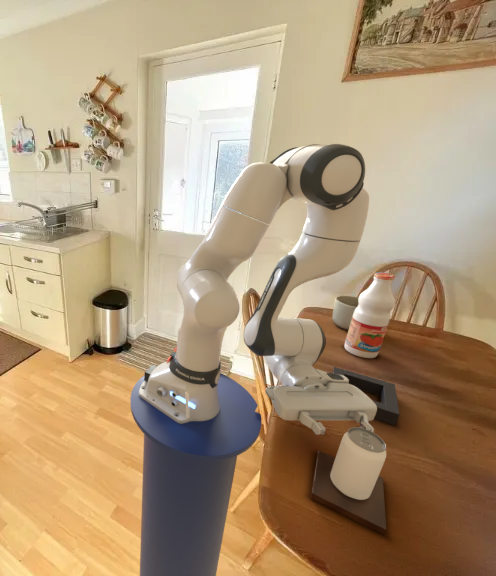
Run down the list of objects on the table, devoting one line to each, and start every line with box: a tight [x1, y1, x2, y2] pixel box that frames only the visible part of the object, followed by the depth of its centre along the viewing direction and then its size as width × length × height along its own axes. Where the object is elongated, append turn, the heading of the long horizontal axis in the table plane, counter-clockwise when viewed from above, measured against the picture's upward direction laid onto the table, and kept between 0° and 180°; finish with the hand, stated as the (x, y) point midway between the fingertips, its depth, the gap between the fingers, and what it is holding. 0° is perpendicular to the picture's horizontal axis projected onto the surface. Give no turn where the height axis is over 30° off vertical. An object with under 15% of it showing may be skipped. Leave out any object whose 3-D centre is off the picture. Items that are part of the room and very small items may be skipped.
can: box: [330, 426, 388, 500], centre depth 59 cm, size 6×6×12 cm
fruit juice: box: [344, 271, 396, 359], centre depth 102 cm, size 9×9×28 cm
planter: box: [332, 295, 359, 331], centre depth 122 cm, size 12×12×11 cm
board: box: [310, 450, 387, 536], centre depth 61 cm, size 11×12×2 cm
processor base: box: [331, 366, 400, 426], centre depth 85 cm, size 14×14×4 cm
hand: (345, 432), depth 62 cm, fingers open, 8 cm apart
